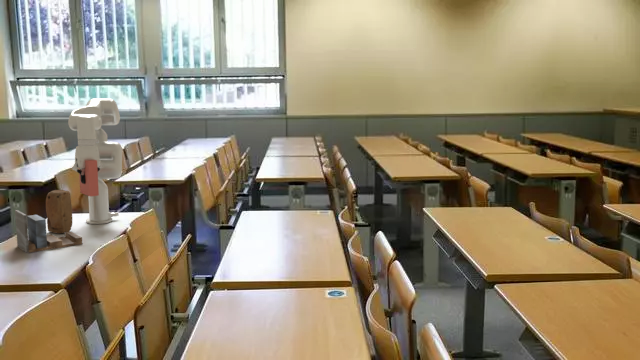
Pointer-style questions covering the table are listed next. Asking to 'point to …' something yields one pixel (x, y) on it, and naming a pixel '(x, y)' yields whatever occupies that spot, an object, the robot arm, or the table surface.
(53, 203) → the block
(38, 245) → the book stand
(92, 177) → the book
